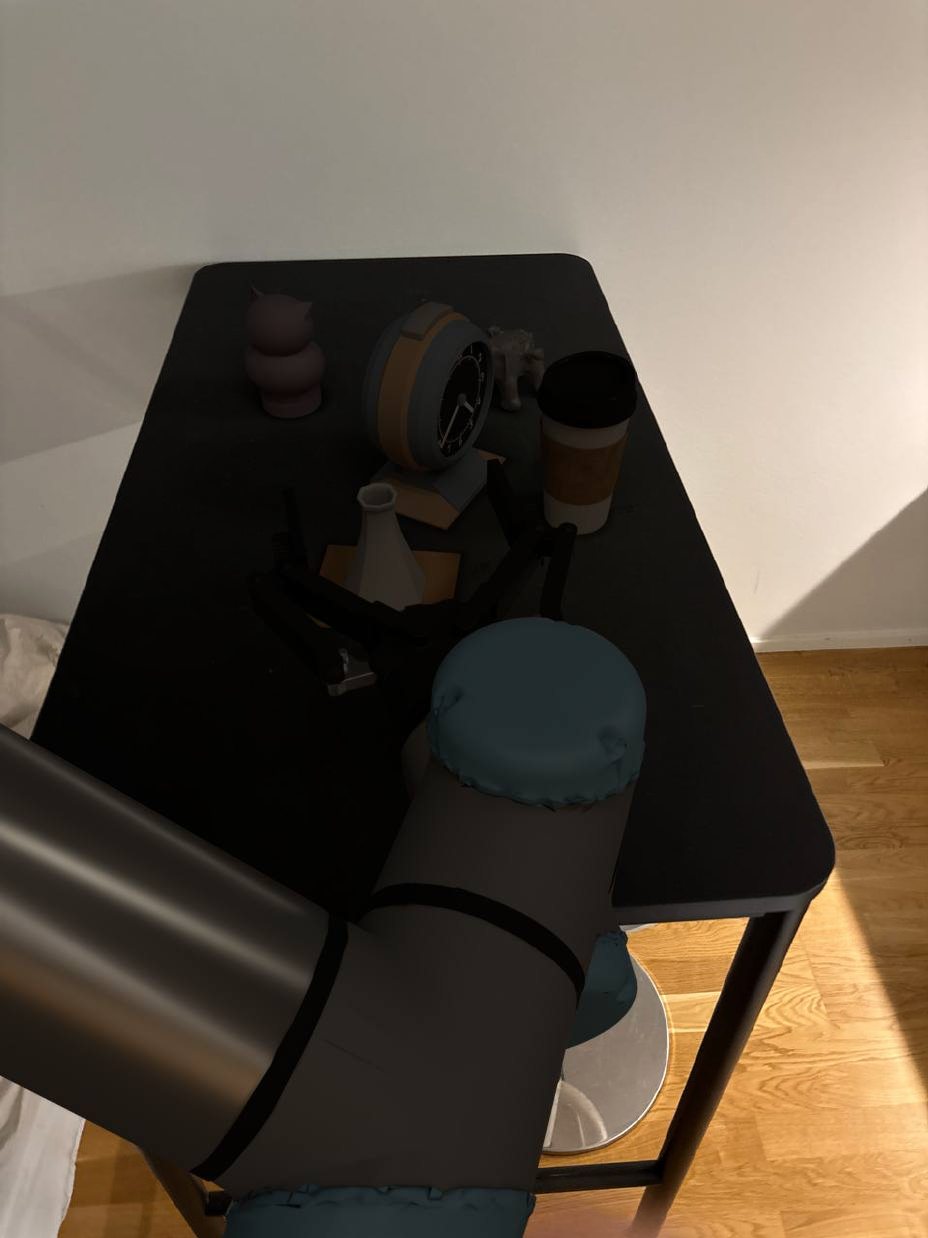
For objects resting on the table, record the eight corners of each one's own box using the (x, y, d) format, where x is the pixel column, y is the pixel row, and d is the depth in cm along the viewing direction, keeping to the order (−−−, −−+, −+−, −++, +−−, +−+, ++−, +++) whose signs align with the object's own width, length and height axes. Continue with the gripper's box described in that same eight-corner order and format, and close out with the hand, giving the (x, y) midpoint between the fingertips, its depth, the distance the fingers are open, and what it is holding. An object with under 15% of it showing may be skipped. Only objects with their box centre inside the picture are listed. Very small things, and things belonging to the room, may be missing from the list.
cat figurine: (236, 409, 104) (215, 304, 96) (279, 374, 109) (263, 271, 101) (303, 430, 102) (287, 324, 93) (344, 393, 106) (333, 289, 98)
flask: (420, 554, 87) (416, 462, 80) (433, 611, 82) (429, 518, 75) (339, 564, 86) (327, 472, 79) (346, 622, 81) (334, 529, 74)
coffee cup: (639, 521, 91) (662, 379, 80) (568, 556, 88) (581, 412, 77) (582, 476, 96) (596, 336, 85) (512, 507, 92) (517, 366, 82)
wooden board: (303, 626, 82) (303, 622, 81) (328, 547, 89) (328, 544, 88) (446, 637, 81) (446, 634, 80) (460, 556, 88) (460, 553, 87)
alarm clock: (440, 536, 90) (435, 364, 77) (350, 505, 93) (331, 335, 80) (510, 454, 98) (515, 288, 86) (425, 428, 102) (419, 264, 89)
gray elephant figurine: (557, 384, 107) (561, 320, 102) (515, 443, 100) (517, 376, 94) (479, 366, 110) (480, 302, 105) (433, 422, 103) (430, 356, 97)
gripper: (237, 827, 51) (212, 561, 66) (684, 737, 55) (568, 506, 70) (210, 738, 46) (190, 470, 60) (707, 646, 50) (576, 416, 64)
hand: (392, 489), depth 65 cm, fingers open, 13 cm apart
